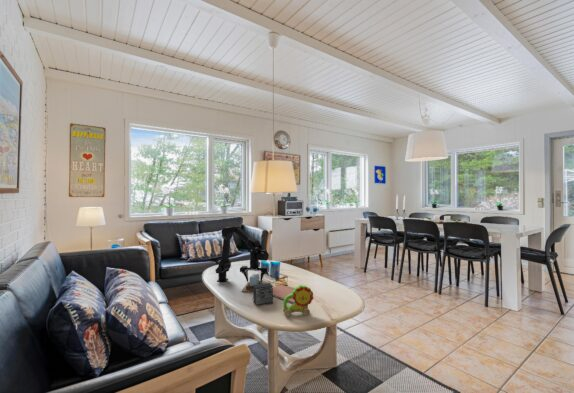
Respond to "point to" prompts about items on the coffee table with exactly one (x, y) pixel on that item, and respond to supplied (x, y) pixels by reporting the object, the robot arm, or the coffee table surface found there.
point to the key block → (254, 279)
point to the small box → (262, 294)
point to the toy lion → (298, 301)
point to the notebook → (283, 292)
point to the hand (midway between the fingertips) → (254, 281)
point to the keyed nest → (250, 287)
